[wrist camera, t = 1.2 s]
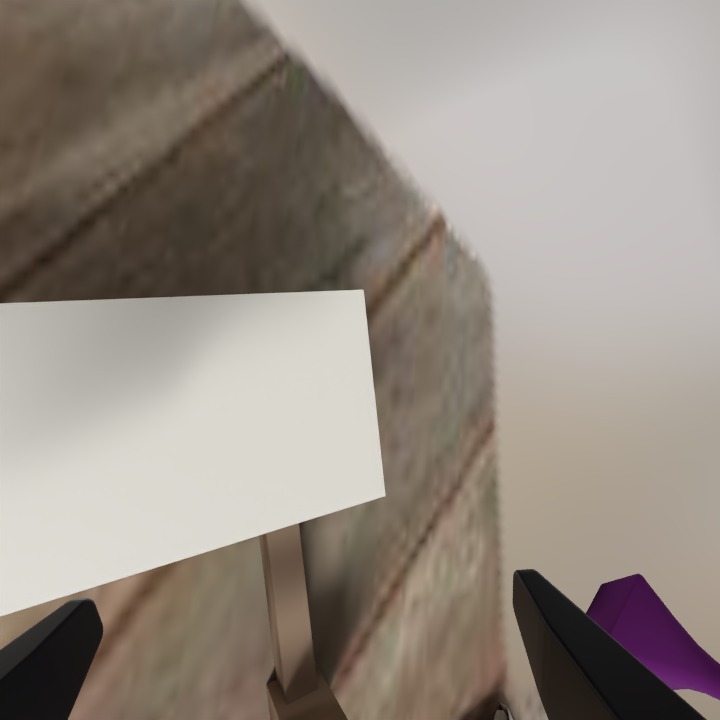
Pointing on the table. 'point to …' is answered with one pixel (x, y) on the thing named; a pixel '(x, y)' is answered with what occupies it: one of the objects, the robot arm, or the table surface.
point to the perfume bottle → (654, 635)
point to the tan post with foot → (292, 634)
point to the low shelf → (175, 430)
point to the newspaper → (503, 713)
